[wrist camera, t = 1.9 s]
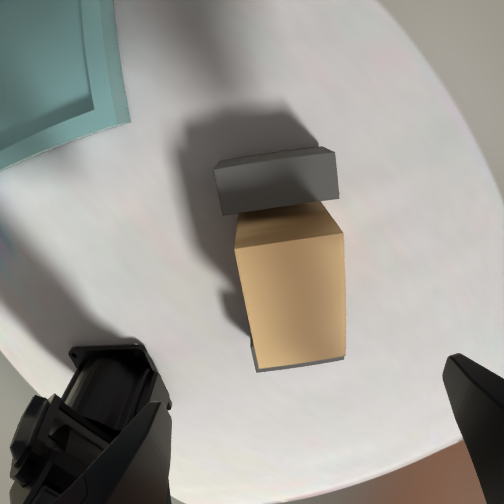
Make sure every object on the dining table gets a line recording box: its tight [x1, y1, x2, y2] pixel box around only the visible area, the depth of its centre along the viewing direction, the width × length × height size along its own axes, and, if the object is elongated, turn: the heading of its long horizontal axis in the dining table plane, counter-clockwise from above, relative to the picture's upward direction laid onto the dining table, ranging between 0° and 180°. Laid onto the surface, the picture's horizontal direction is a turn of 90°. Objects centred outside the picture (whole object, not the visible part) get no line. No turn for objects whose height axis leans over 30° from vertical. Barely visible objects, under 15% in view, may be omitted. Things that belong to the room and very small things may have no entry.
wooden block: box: [234, 201, 346, 369], centre depth 15 cm, size 4×6×5 cm, turn 9°
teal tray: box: [0, 0, 131, 172], centre depth 11 cm, size 11×13×2 cm
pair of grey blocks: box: [214, 146, 344, 373], centre depth 16 cm, size 5×11×2 cm, turn 9°
